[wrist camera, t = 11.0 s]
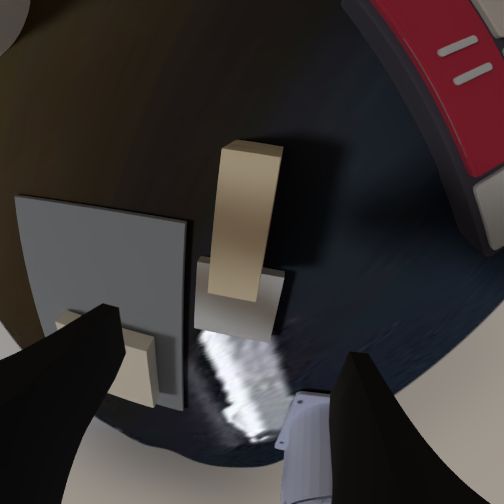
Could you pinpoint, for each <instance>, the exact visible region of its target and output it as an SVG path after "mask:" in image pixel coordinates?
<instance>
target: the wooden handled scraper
mask: <svg viewBox="0 0 504 504" xmlns="http://www.w3.org/2000/svg"><path fill="white" fill-rule="evenodd" d="M282 153H283V147H281V146H275V145H269V144H263V143H257V142H250V141H243V140H235V141H234V142H232V143H230V144H229V145H227V146H225V147H224V148H222V152H221V160H220V169H219V178H218V187H217V196H216V206H215V215H214V225H213V236H212V247H211V258H210V257H205V256H201V257H200V258H199V260H198V262H197V279H196V297H195V318H194V328H198V329H202V330H207V331H211V332H216V333H221V334H226V335H231V336H236V337H241V338H246V339H252V340H257V341H263V342H268V343H269V342H270V338H271V334H272V329H273V325H274V321H275V317H276V312H277V308H278V304H279V299H280V295H281V290H282V286H283V281H284V275H285V271H280V270H275V269H269V268H264V267H263V263H264V258H265V252H266V246H267V241H268V235H269V229H270V223H271V218H272V212H273V206H274V200H275V195H276V189H277V183H278V177H279V171H280V165H281V159H282Z"/></svg>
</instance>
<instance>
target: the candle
mask: <svg viewBox="0 0 504 504" xmlns="http://www.w3.org/2000/svg"><path fill="white" fill-rule="evenodd" d="M29 6H30V0H0V55H2V54H3V53H4V52H6V51H7V50H8V49H9V48H10V47H11V45H12V44H13V43H14V42H15V40H16V38H17V37H18V35H19V34H20V32H21V30H22V28H23V26H24V24H25V21H26V18H27V15H28V11H29Z"/></svg>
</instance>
